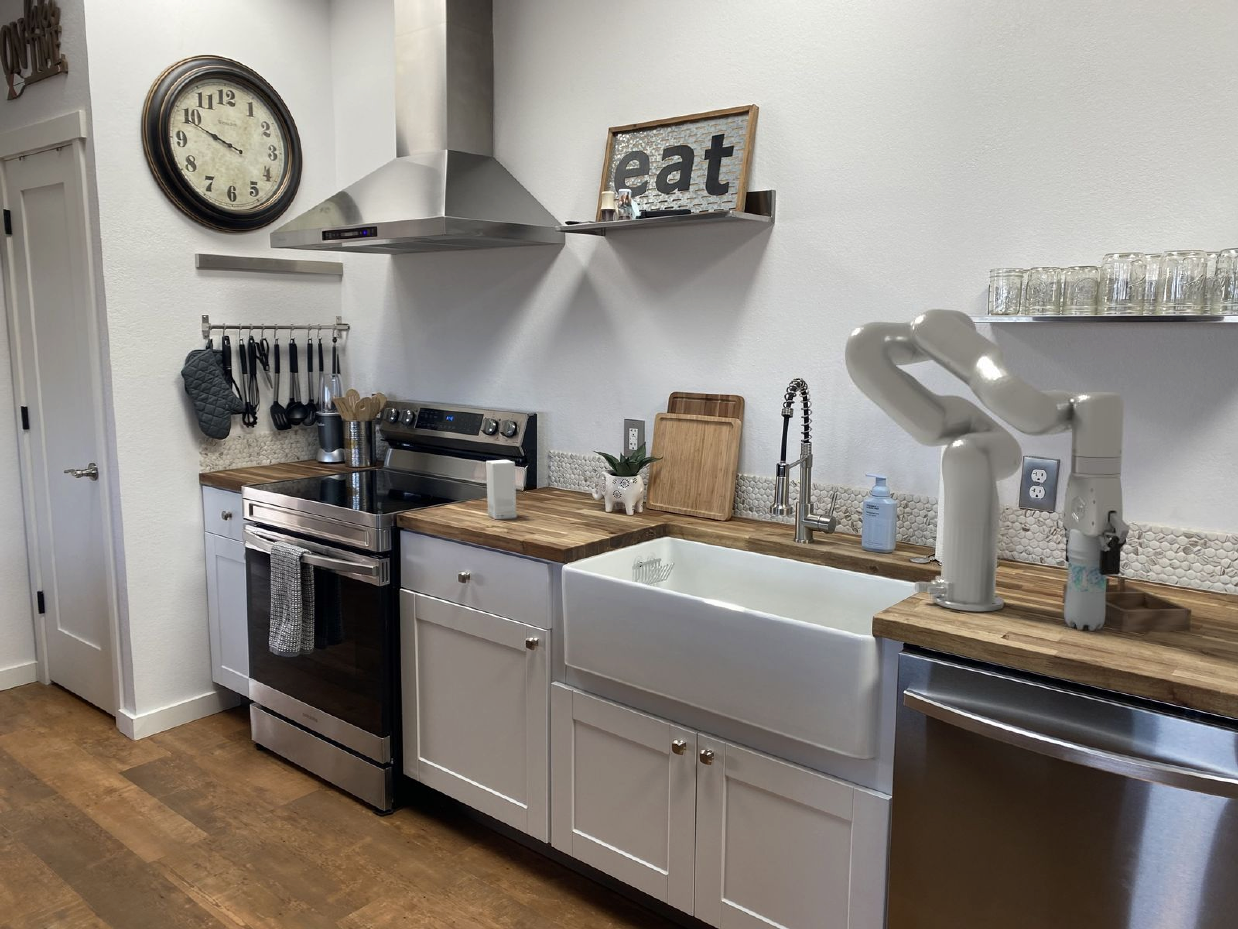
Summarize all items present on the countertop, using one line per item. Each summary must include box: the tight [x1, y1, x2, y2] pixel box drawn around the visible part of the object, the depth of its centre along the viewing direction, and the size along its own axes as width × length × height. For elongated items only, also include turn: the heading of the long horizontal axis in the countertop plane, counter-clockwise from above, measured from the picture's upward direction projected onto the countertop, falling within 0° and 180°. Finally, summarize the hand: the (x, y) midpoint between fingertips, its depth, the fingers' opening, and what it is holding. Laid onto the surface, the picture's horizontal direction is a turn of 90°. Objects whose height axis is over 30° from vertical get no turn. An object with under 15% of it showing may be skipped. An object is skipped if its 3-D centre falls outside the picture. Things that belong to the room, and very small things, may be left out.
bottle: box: [1063, 529, 1111, 632], centre depth 158 cm, size 7×7×20 cm
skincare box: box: [485, 459, 518, 520], centre depth 259 cm, size 8×7×16 cm
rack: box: [1062, 577, 1192, 633], centre depth 166 cm, size 12×18×5 cm, turn 5°
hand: (1091, 568), depth 158 cm, fingers open, 9 cm apart
